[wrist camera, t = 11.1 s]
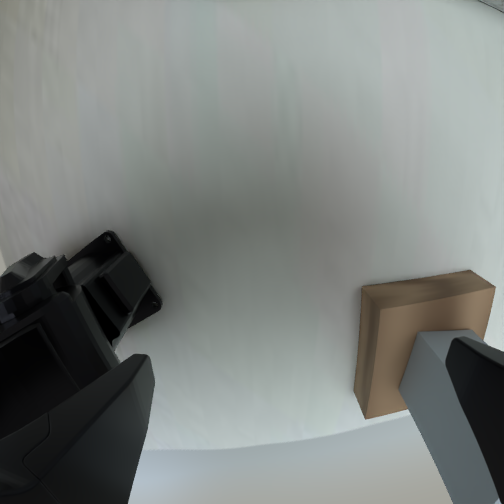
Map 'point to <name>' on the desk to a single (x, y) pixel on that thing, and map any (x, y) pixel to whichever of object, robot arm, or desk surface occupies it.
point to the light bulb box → (495, 4)
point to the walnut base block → (411, 329)
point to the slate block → (445, 419)
